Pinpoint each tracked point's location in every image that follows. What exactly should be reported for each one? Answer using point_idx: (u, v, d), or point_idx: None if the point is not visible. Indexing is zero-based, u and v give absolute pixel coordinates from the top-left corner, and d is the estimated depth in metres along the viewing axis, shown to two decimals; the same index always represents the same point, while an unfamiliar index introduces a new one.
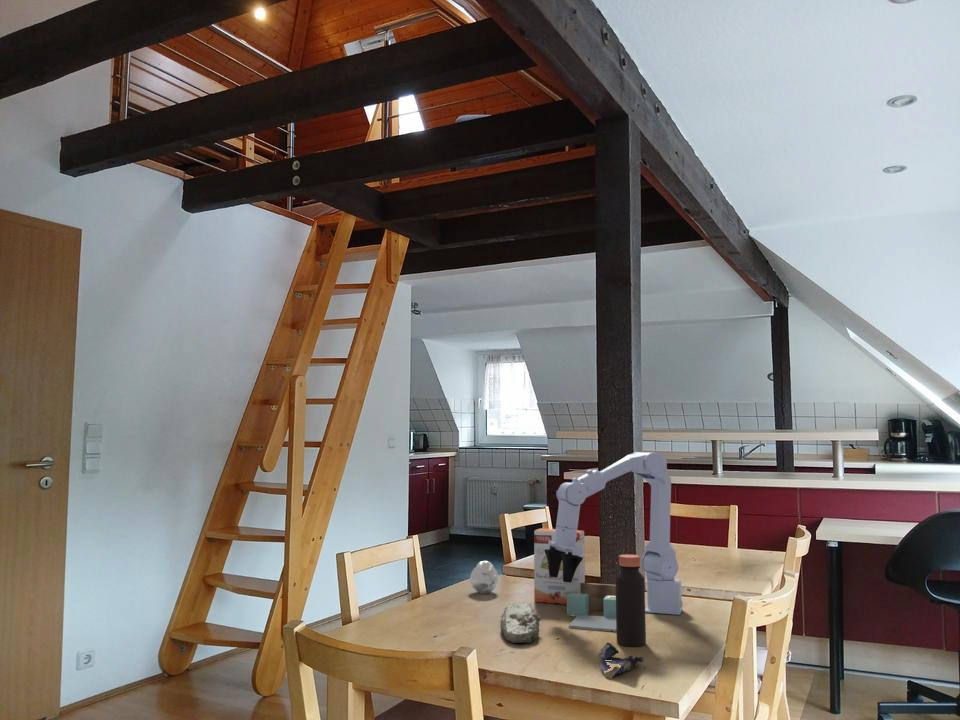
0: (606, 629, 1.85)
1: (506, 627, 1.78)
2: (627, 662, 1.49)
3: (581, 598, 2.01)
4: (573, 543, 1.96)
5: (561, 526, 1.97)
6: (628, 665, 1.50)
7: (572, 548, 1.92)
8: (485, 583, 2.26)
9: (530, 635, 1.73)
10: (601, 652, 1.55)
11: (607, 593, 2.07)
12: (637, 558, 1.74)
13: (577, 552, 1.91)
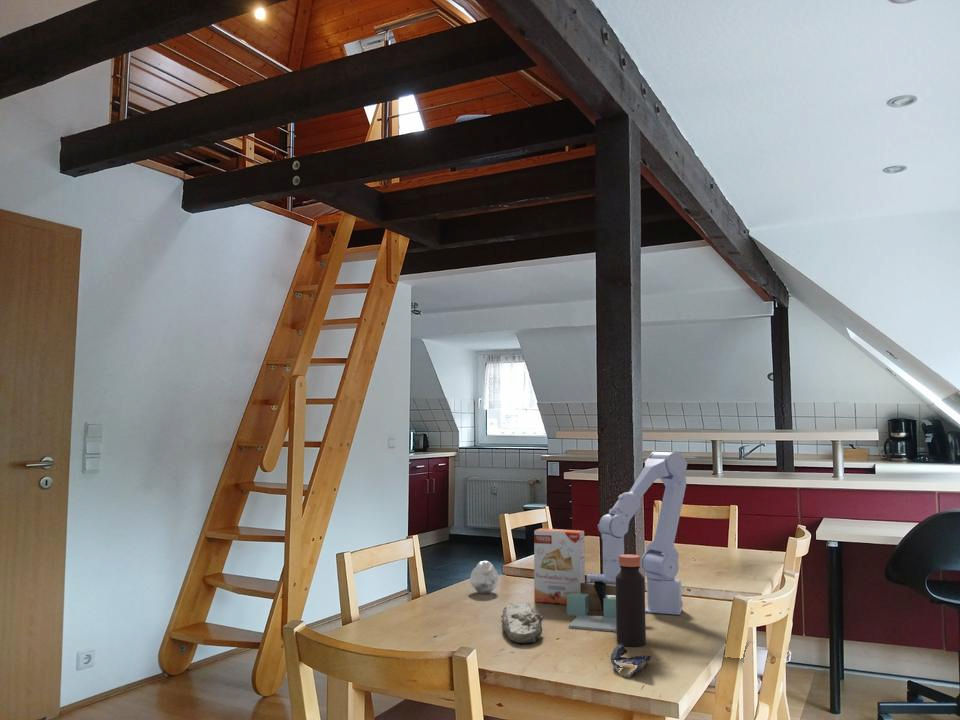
0: (606, 629, 1.85)
1: (509, 627, 1.78)
2: (643, 661, 1.50)
3: (581, 598, 2.01)
4: None
5: (617, 560, 1.99)
6: (644, 664, 1.51)
7: None
8: (485, 583, 2.26)
9: (534, 635, 1.73)
10: (613, 652, 1.55)
11: (607, 593, 2.07)
12: (637, 558, 1.74)
13: None
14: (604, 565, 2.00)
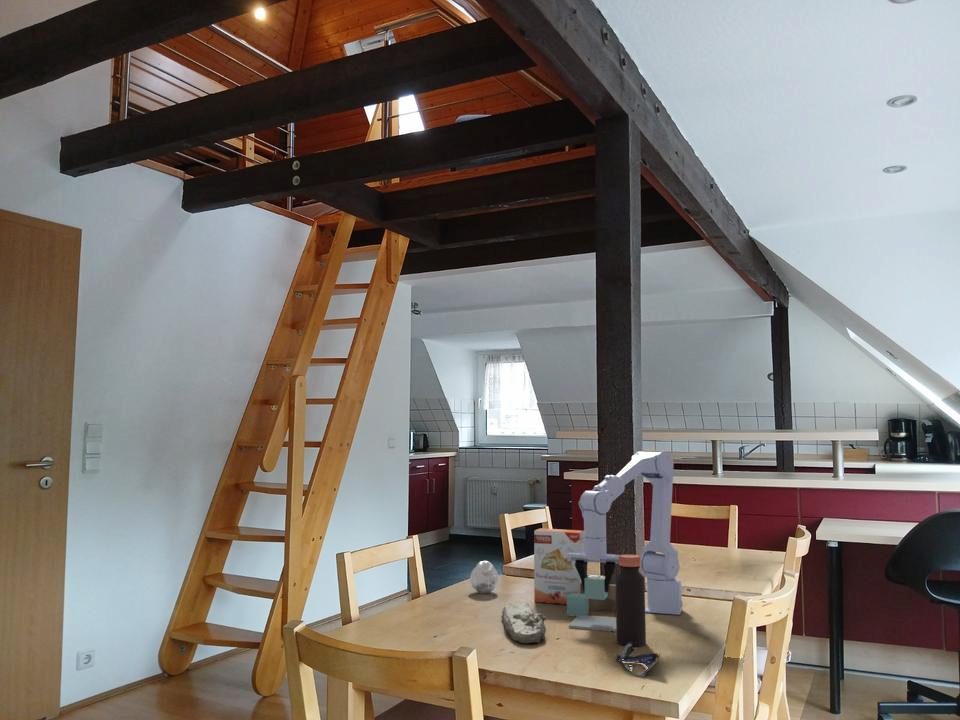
0: (606, 629, 1.85)
1: (513, 628, 1.78)
2: (656, 659, 1.51)
3: (581, 598, 2.01)
4: None
5: (599, 538, 1.91)
6: (655, 662, 1.52)
7: None
8: (485, 583, 2.26)
9: (539, 635, 1.73)
10: (623, 652, 1.55)
11: None
12: (637, 558, 1.74)
13: None
14: (585, 543, 1.93)
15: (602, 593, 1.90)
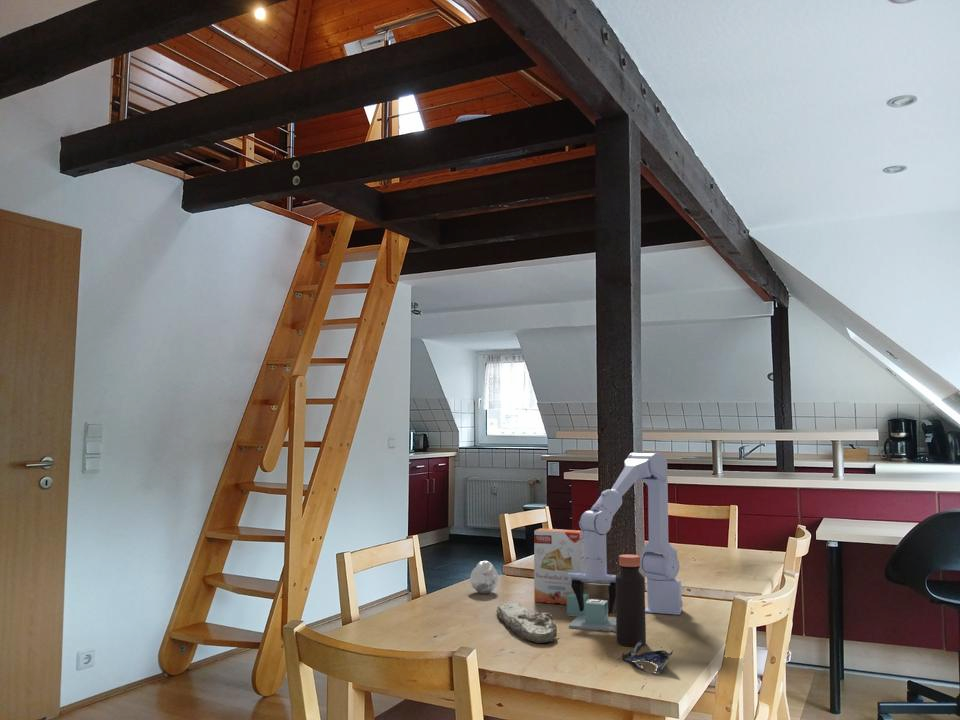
0: (606, 629, 1.85)
1: (525, 628, 1.77)
2: (668, 657, 1.53)
3: None
4: None
5: (599, 558, 1.91)
6: None
7: None
8: (485, 583, 2.26)
9: (553, 634, 1.74)
10: (634, 651, 1.56)
11: (607, 593, 2.07)
12: (637, 558, 1.74)
13: None
14: (585, 563, 1.92)
15: (602, 618, 1.89)
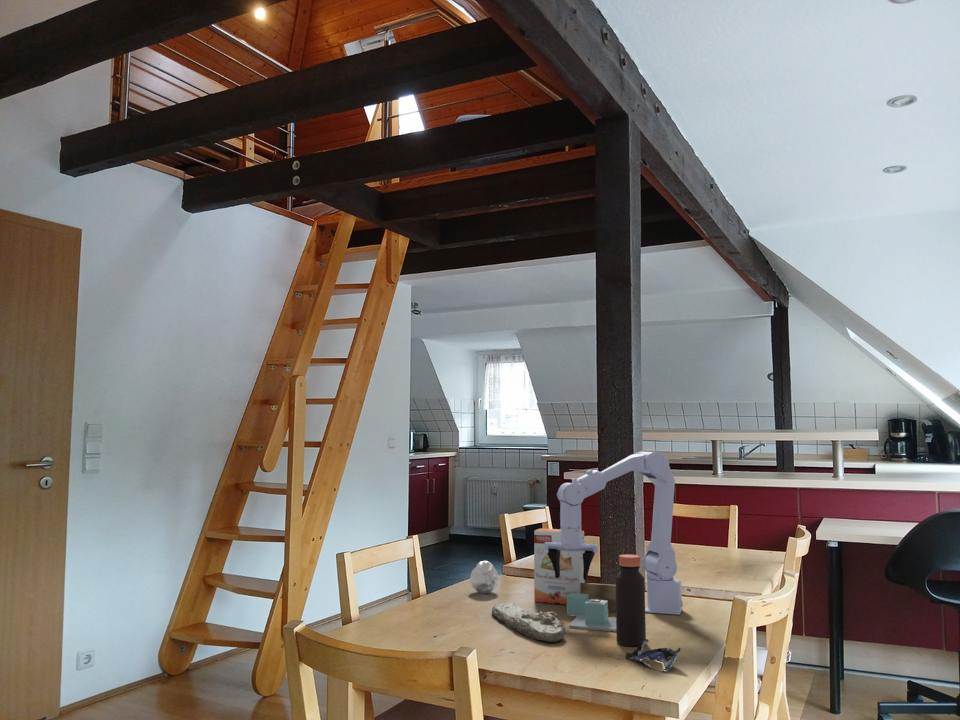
0: (606, 629, 1.85)
1: (533, 627, 1.78)
2: (675, 654, 1.55)
3: (581, 598, 2.01)
4: None
5: (574, 527, 2.01)
6: (674, 657, 1.56)
7: (593, 546, 2.00)
8: (485, 583, 2.26)
9: (563, 633, 1.75)
10: (641, 650, 1.57)
11: (607, 593, 2.07)
12: (637, 558, 1.74)
13: (597, 549, 2.00)
14: (561, 533, 2.02)
15: (602, 618, 1.89)
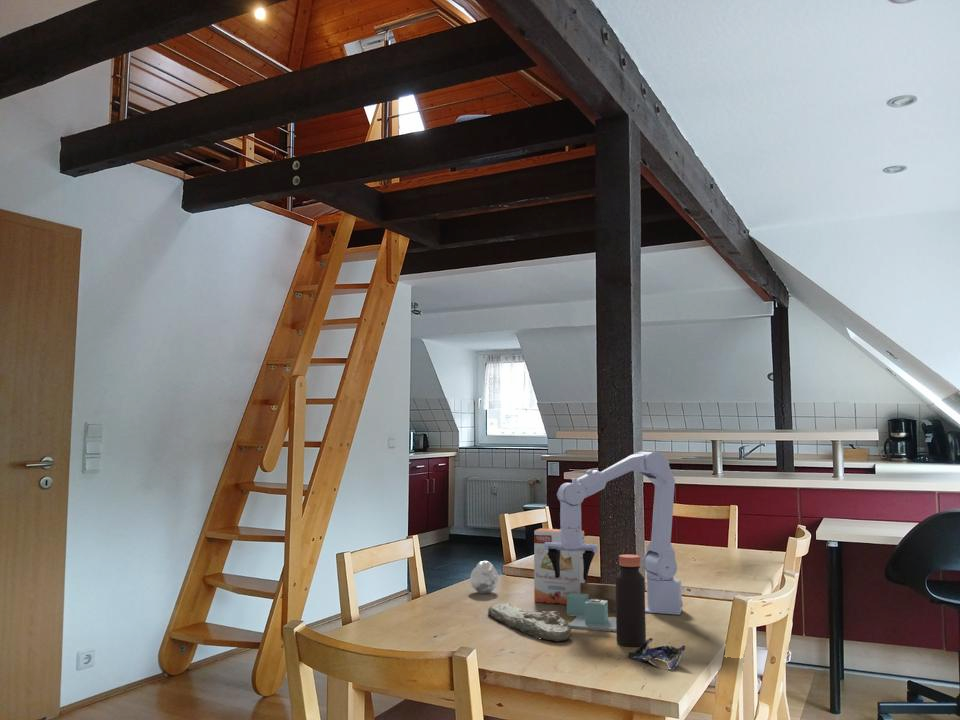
0: (606, 629, 1.85)
1: (540, 627, 1.78)
2: (680, 652, 1.57)
3: (581, 598, 2.01)
4: None
5: (574, 527, 2.01)
6: None
7: (593, 546, 2.00)
8: (485, 583, 2.26)
9: (570, 631, 1.76)
10: (646, 648, 1.58)
11: (607, 593, 2.07)
12: (637, 558, 1.74)
13: (597, 549, 2.00)
14: (561, 533, 2.02)
15: (602, 618, 1.89)
